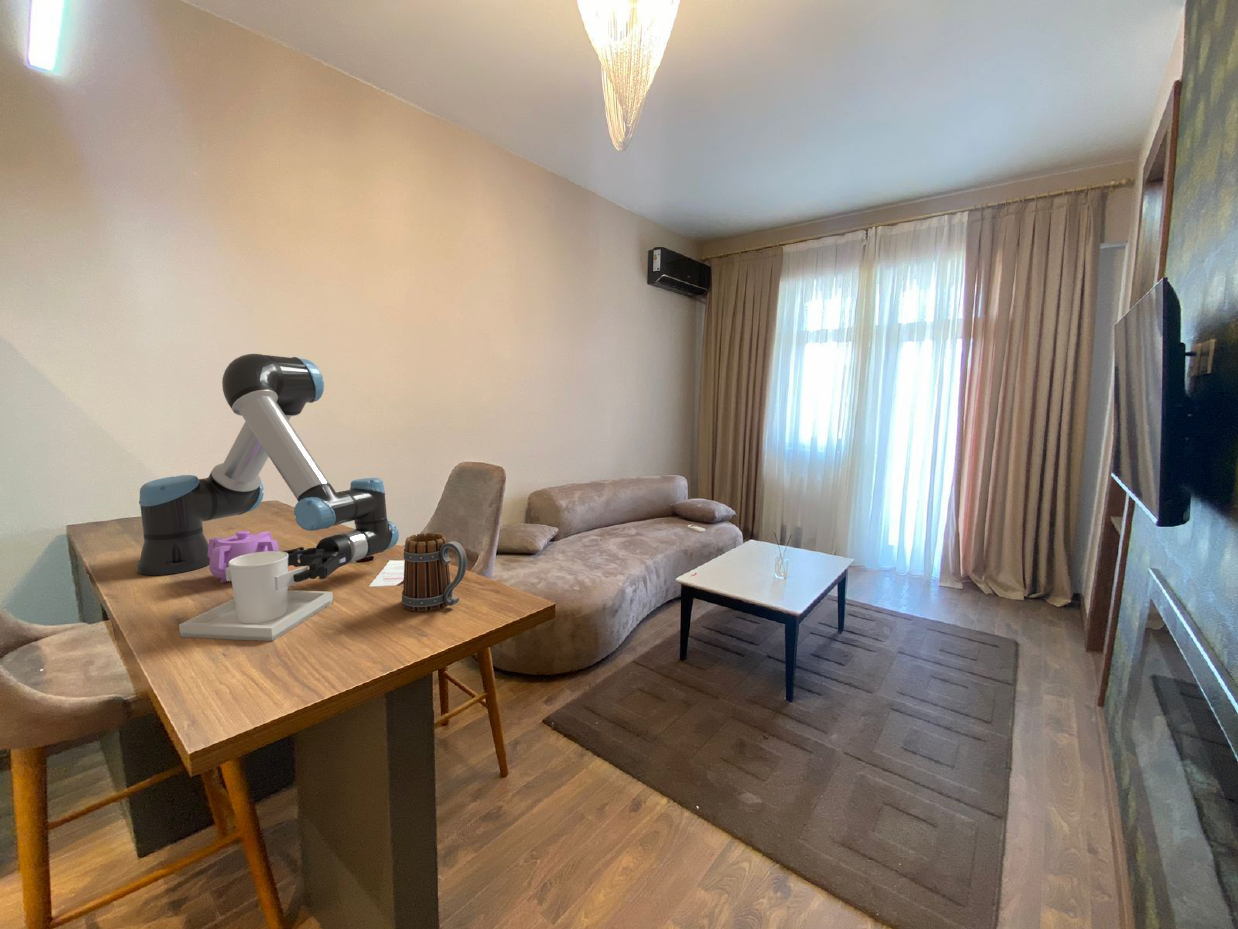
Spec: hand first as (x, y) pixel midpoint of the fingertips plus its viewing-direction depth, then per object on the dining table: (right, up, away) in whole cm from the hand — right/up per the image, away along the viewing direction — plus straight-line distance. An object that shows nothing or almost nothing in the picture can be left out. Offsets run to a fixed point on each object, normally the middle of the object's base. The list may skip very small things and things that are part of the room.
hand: (250, 579), depth 99 cm
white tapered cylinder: (+1, -8, +3) cm, 9 cm away
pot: (-20, -6, +26) cm, 33 cm away
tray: (0, -9, +3) cm, 9 cm away
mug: (+33, -8, +11) cm, 36 cm away
